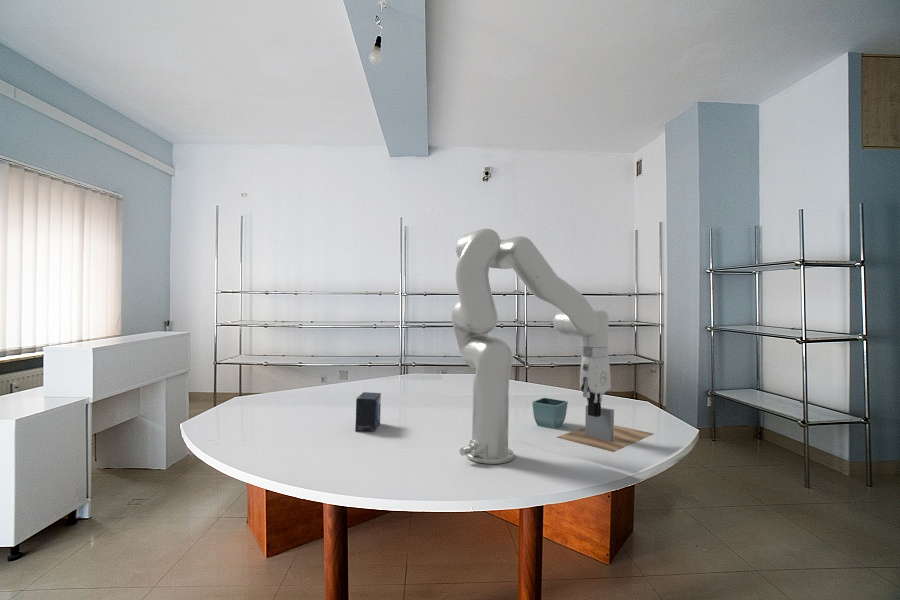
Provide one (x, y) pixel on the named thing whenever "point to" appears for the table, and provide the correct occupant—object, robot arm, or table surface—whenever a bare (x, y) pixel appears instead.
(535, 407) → the flower pot
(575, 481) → the table surface
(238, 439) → the table surface
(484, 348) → the robot arm
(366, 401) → the small box
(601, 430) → the tile
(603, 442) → the board
